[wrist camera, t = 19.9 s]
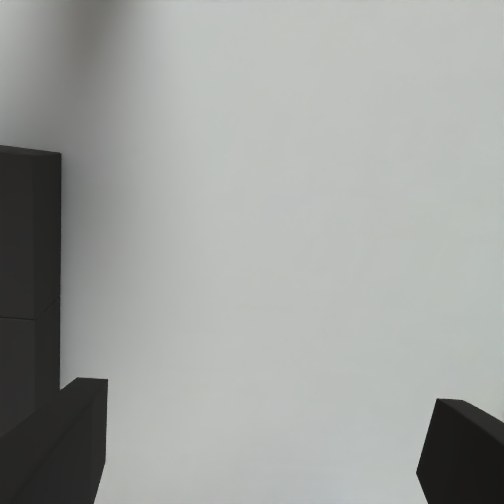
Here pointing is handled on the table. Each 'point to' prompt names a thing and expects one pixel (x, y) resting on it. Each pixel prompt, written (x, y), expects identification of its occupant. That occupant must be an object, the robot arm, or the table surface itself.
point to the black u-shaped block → (29, 281)
